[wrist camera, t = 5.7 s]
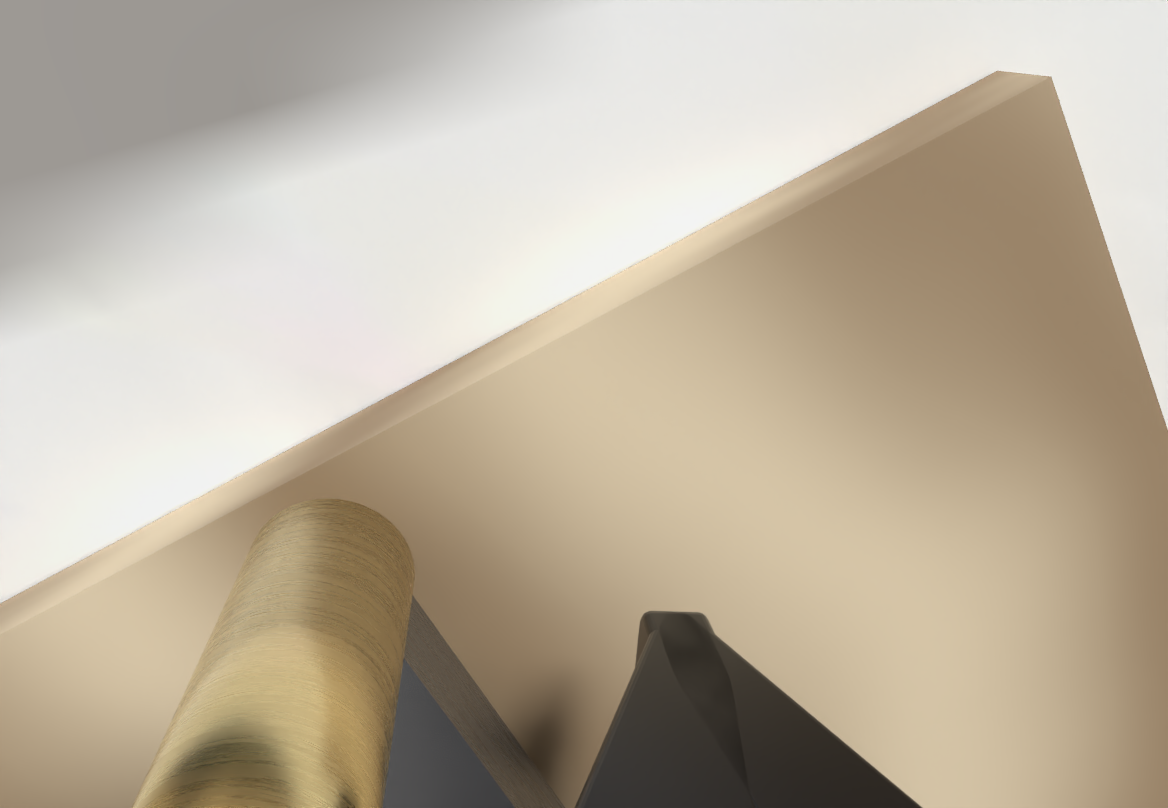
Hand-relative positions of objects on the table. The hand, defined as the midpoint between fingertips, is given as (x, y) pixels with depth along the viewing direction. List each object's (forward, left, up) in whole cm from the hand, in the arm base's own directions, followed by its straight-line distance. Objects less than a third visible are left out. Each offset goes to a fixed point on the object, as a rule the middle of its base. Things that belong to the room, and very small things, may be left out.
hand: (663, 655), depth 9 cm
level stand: (-3, -6, -4) cm, 8 cm away
